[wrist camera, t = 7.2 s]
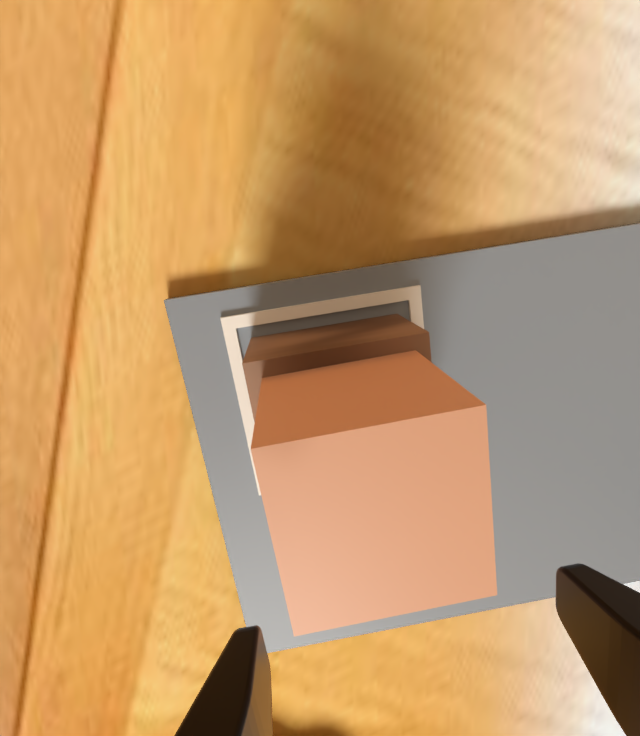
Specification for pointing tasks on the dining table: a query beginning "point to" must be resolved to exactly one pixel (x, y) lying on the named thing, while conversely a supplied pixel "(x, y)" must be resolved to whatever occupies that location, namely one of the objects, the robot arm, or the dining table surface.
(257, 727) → the robot arm
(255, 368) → the walnut block
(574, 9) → the dining table surface
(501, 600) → the slate board
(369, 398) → the terracotta block
